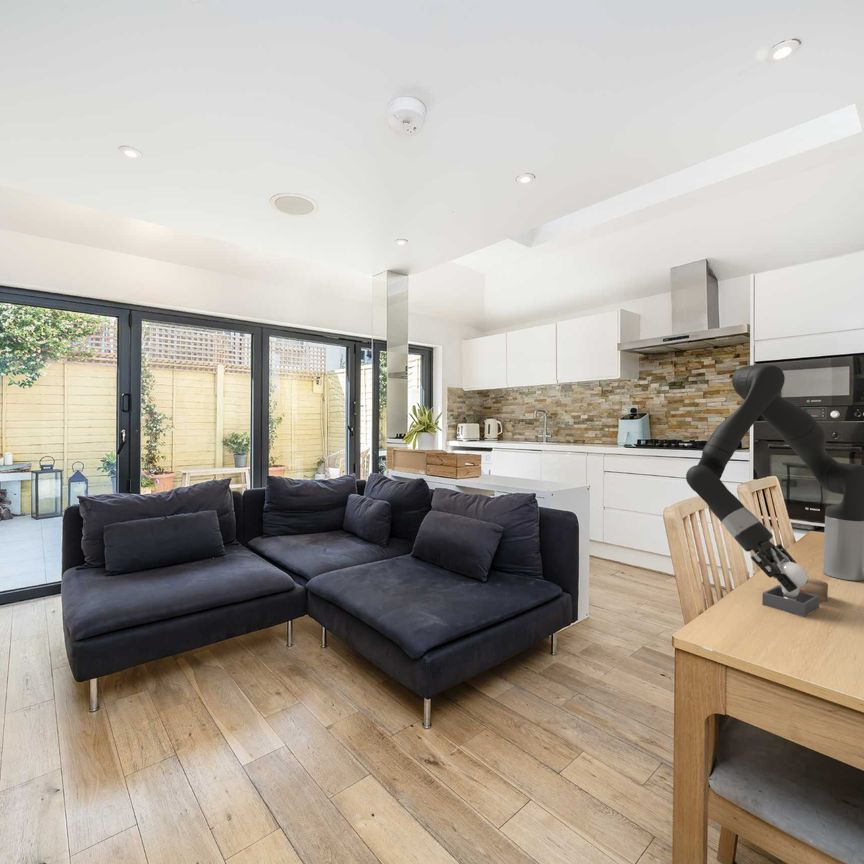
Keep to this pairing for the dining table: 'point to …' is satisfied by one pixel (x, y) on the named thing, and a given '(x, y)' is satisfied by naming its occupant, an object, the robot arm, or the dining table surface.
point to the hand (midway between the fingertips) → (798, 587)
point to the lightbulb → (793, 578)
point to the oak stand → (817, 588)
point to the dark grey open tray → (791, 601)
